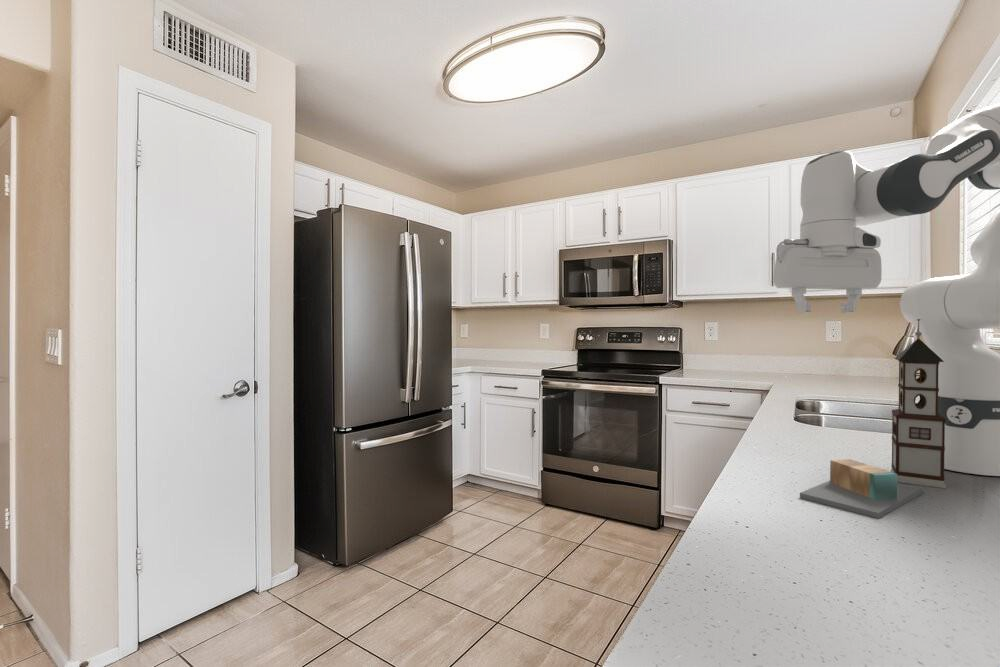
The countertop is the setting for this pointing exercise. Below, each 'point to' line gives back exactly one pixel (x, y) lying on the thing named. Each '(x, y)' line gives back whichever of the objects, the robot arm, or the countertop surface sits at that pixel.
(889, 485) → the oak block
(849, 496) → the rubber mat
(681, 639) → the countertop surface
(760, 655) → the countertop surface
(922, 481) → the miniature building
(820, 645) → the countertop surface
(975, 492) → the countertop surface
